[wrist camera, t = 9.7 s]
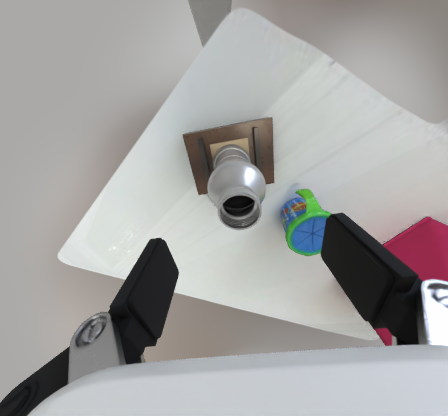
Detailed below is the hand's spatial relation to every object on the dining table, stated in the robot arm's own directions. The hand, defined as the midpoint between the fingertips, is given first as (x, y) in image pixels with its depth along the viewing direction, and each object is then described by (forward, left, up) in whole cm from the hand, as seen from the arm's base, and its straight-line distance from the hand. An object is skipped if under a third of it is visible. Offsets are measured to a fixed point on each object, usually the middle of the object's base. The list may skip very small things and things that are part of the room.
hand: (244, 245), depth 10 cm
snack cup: (+16, +14, -29) cm, 36 cm away
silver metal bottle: (0, 0, -25) cm, 25 cm away
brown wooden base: (0, 0, -29) cm, 29 cm away
